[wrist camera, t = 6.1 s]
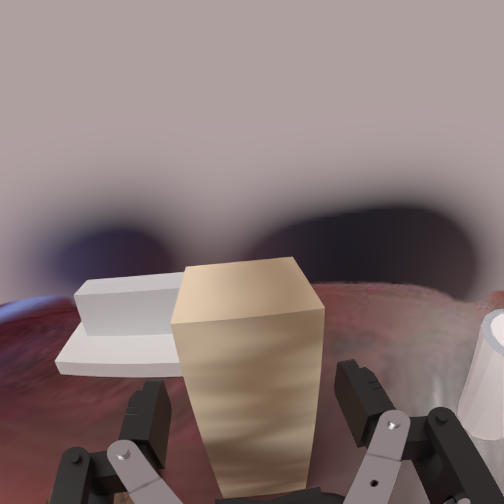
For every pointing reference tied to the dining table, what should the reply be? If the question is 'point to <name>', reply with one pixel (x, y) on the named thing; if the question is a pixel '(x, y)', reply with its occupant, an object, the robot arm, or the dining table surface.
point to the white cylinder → (485, 383)
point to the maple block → (252, 370)
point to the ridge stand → (124, 328)
